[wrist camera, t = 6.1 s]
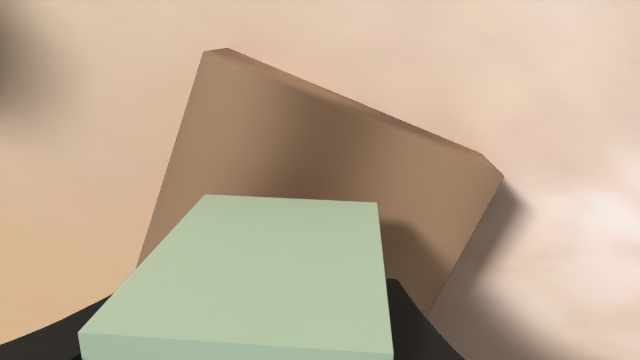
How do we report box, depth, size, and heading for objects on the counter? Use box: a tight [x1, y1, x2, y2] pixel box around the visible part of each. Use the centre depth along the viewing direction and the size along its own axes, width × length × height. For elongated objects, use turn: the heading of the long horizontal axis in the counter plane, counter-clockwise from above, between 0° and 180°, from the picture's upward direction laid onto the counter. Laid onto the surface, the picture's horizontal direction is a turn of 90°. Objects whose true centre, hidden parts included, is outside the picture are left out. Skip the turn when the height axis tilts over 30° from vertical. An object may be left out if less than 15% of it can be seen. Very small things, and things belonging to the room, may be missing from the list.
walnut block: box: [136, 48, 504, 317], centre depth 16 cm, size 9×9×3 cm
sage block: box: [78, 194, 394, 360], centre depth 10 cm, size 4×4×6 cm
